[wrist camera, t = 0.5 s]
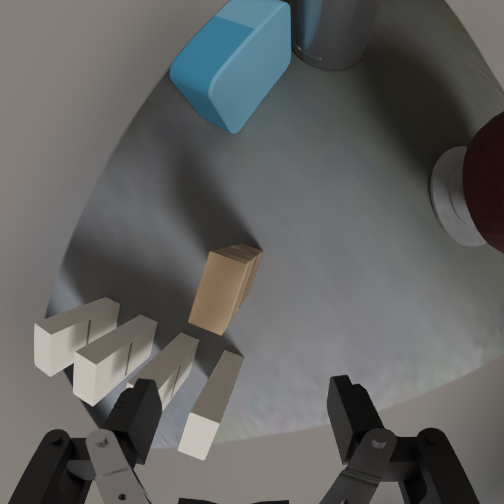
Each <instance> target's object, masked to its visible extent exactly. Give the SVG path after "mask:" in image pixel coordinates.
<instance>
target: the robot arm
mask: <svg viewBox="0 0 504 504" xmlns="http://www.w3.org/2000/svg"><path fill="white" fill-rule="evenodd" d="M383 1H384V0H289V4H290V15H291V46H292V48H293V51H294V52H295V53H296V54H297V56H298V57H299V58H301V59H302V60H303V61H304V62H306V63H308V64H310V65H312V66H314V67H317V68H320V69H324V70H334V71H335V70H344V69H347V68H350V67H352V66H354V65H355V64H357V63H358V62H359V60H360V59H361V57H362V55H363V53H364V50H365V48H366V45H367V43H368V40H369V38H370V35H371V33H372V30H373V28H374V25H375V22H376V20H377V17H378V15H379V12H380V9H381V7H382V4H383ZM327 411H328V415H329V418H330V422H331V425H332V428H333V432H334V436H335V439H336V443H337V446H338V449H339V453H340V457H341V460H342V464H343V465H347V464H348V465H347V467H346V469H345V470H343V471H342V472H341V473H340V474H339V476H338V477H337V479H336V480H335V482H334V483H333V485H332V486H331V488H330V489H329V491H328V492H327V494H326V495H325V496H324V498H323V499H322V501H321V502H320V503H319V504H369V502H370V500H371V499H372V497H373V495H374V493H375V491H376V489H377V487H378V485H379V483H380V482H382V481H383V482H386V481H387V482H396V481H398V484H399V487H400V490H401V493H402V496H403V500H404V503H405V504H480V503H479V501H478V499H477V497H476V495H475V493H474V490H473V488H472V486H471V484H470V482H469V480H468V478H467V476H466V474H465V472H464V469H463V467H462V466H461V463H460V461H459V460H458V458H457V456H456V454H455V452H454V450H453V448H452V446H451V445H450V442H449V441H448V439H447V437H446V435H445V434H444V433H443V432H442V431H441V430H439V429H436V428H426V429H424V430H422V431H421V432H419V434H418V435H417V437H398V436H396V435H395V434H394V433H393V432H391V431H390V430H388V429H385V428H384V426H383V424H382V422H381V419H380V417H379V416H378V413H377V411H376V409H375V407H374V406H373V403H372V401H371V399H370V396H369V394H368V392H367V390H366V389H365V388H363V387H362V386H361V385H360V384H354V385H352V383H351V381H350V379H349V377H348V375H341V376H333V377H331V378H330V384H329V391H328V398H327ZM161 415H162V402H161V399H160V395H159V392H158V389H157V385H156V382H155V380H153V379H142V378H138V379H137V381H136V383H135V385H134V387H133V388H130V387H128V388H127V389H126V390H125V391H123V392H122V393H121V394H120V396H119V398H118V400H117V402H116V403H115V405H114V408H113V409H112V411H111V413H110V414H109V416H108V418H107V420H106V422H105V424H104V426H103V427H102V429H98V430H95V431H93V432H91V433H90V434H89V435H88V436H87V438H70V437H69V435H68V433H67V432H65V431H64V430H60V429H56V430H52V431H50V432H48V433H47V434H46V435H45V436H44V438H43V440H42V441H41V443H40V445H39V446H38V448H37V450H36V452H35V453H34V455H33V457H32V459H31V461H30V462H29V464H28V466H27V468H26V470H25V472H24V473H23V475H22V477H21V479H20V481H19V483H18V485H17V487H16V489H15V491H14V493H13V495H12V497H11V499H10V501H9V503H8V504H84V503H85V500H86V497H87V494H88V491H89V489H90V486H91V483H92V480H95V481H96V484H97V486H98V489H99V491H100V494H101V496H102V499H103V501H104V504H153V502H152V501H151V499H150V497H149V496H148V494H147V492H146V491H145V489H144V487H143V485H142V483H141V482H140V480H139V478H138V476H137V474H136V472H135V470H134V467H135V464H136V463H137V464H143V465H144V464H145V461H146V458H147V455H148V452H149V449H150V446H151V443H152V441H153V438H154V435H155V432H156V429H157V426H158V423H159V420H160V418H161ZM178 504H217V503H213V502H209V501H205V500H196V499H186V498H179V501H178ZM253 504H289V500H285V501H265V502H257V503H253Z"/></svg>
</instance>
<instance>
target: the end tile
mask: <svg viewBox="0 0 504 504" xmlns="http://www.w3.org/2000/svg"><path fill="white" fill-rule="evenodd" d="M119 309H120V304H119V303H117V302H115V301H113V300H111V299H109V298H107V297H104V298H101V299H99V300H96V301H93V302H90V303H88V304H85V305H82V306H79V307H77V308H74V309H71V310H69V311H66V312H63V313H60V314H58V315H55V316H52V317H50V318H47V319H44V320H42V321H39V322H36V323H35V335H34V336H35V337H34V338H35V339H34V349H35V351H34V356H35V365H36V366H37V367H38V368H39V369H41V370H42V371H43V372H45V373H46V374H47V375H48V376H50V377H51V376H53V375H54V374H56V373H58V372H59V371H61V370H62V369H64V368H66V367H67V366H69V365H71V364H72V363H74V359H75V351H77V350H79V349H80V348H82V347H84V346H86V345H87V344H89V343H91V342H93V341H95V340H96V339H98V338H100V337H102V336H103V335H105V334H107V333H109V332H110V331H112V330H114V329H116V325H117V319H118V314H119Z"/></svg>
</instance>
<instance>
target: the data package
mask: <svg viewBox="0 0 504 504" xmlns="http://www.w3.org/2000/svg"><path fill="white" fill-rule="evenodd" d="M290 60H291V15H290V6H289V4H288V3H286V2H283V1H280V0H230V1H229V2H228V3H227V4H226V5H225V6H224V7H223V8H222V9H221V10H219V11H218V12H217V13H216V14H215V15H214V16H213V17H212V18H211V19H210V20H209V21H208V22H207V23H206V24H205V26H204V27H203V28H202V29H201V30H200V31H199V32H198V33H197V34H196V35H195V36H194V37H193V38H192V39H191V41H190V42H189V43H188V44H187V45H186V46H185V47H184V48H183V50H182V51H181V52H180V53H179V54H178V55H177V57H176V58H175V59H174V61H173V63H172V65H171V68H170V79H171V81H172V82H173V83H174V84H175V86H176V87H177V88H178V89H179V90H180V92H181V93H182V94H183V95H184V97H185V98H186V99H187V100H188V102H189V103H190V104H191V105H192V107H193V108H194V109H195V110H196V112H197V113H198V114H199V115H200V117H202V118H204V119H205V120H207V121H209V122H211V123H213V124H215V125H217V126H218V127H220V128H222V129H224V130H226V131H228V132H229V133H231V134H235V133H237V132H238V131H239V130H240V129H241V128H242V127H243V126H244V124H245V123H246V121H247V120H248V119H249V117H250V116H251V115H252V113H253V112H254V111H255V109H256V108H257V106H258V105H259V104H260V102H261V101H262V100H263V99H264V97H265V96H266V95H267V93H268V92H269V91H270V89H271V88H272V87H273V85H274V84H275V83H276V82H277V80H278V79H279V78H280V77H281V75H282V74H283V73H284V72H285V70H286V69H287V67H288V65H289V63H290Z"/></svg>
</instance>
